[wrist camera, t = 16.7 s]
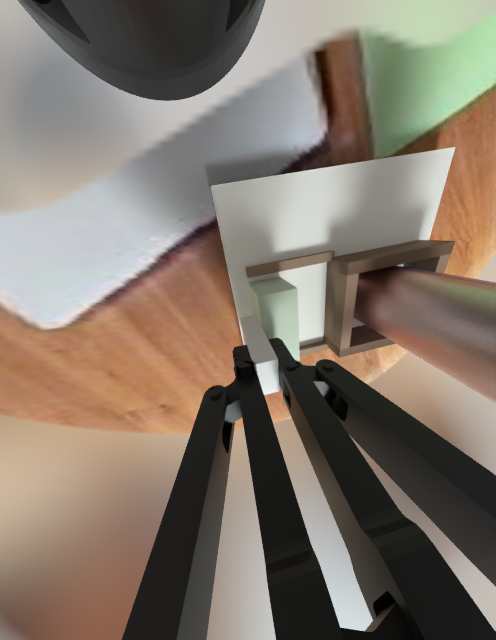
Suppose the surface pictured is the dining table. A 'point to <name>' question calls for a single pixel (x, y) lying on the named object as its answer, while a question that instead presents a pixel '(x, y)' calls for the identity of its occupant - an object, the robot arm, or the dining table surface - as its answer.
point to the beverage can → (435, 320)
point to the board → (323, 225)
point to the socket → (344, 289)
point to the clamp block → (277, 311)
